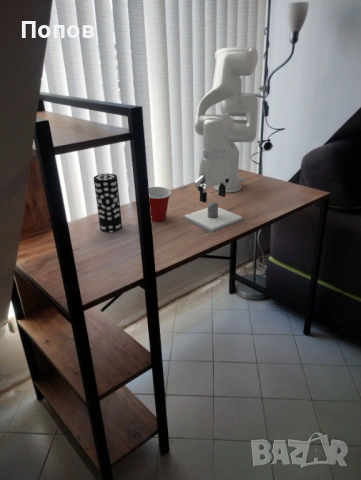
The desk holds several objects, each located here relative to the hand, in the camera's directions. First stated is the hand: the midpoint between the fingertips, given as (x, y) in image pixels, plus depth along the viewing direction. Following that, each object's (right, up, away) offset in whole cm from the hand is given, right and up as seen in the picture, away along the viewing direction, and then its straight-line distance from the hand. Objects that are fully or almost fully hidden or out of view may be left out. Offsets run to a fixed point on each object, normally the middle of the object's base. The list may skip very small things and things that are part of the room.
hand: (212, 198), depth 147 cm
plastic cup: (-21, -8, +6) cm, 23 cm away
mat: (0, -8, +5) cm, 9 cm away
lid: (0, -7, +4) cm, 8 cm away
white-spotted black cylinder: (-39, -11, 0) cm, 40 cm away
